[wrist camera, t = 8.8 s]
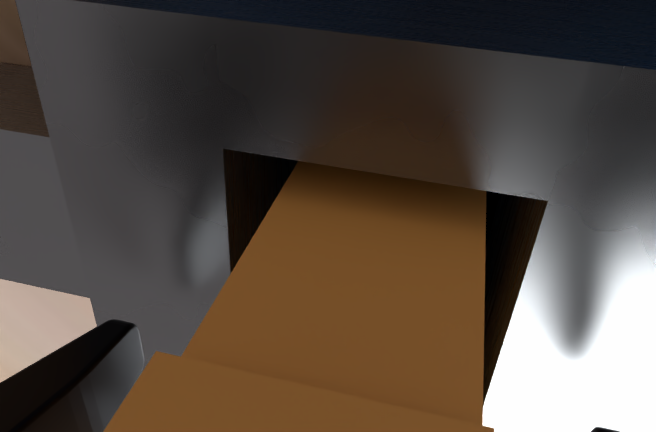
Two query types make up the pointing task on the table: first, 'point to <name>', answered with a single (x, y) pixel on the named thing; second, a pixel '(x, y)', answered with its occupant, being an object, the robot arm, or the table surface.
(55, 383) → the robot arm
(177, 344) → the ring lock bracket
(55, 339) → the table surface
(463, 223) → the tan stepped block
